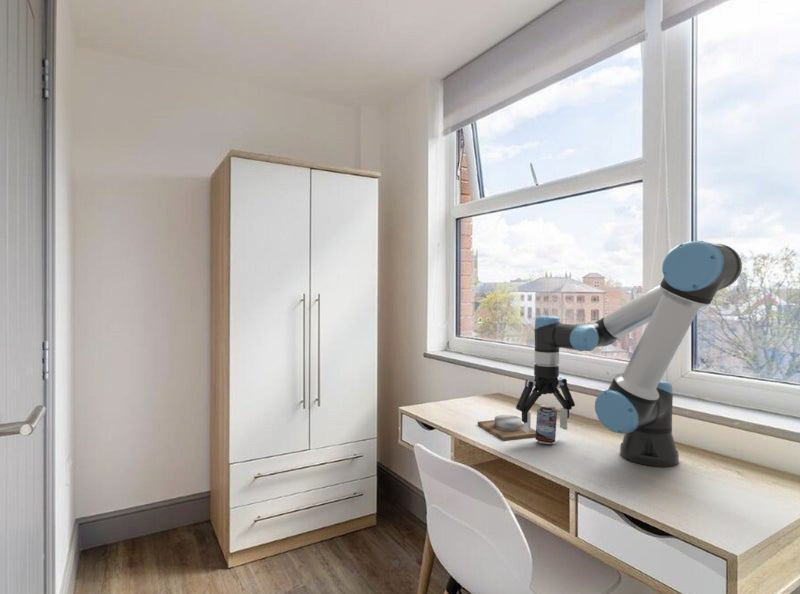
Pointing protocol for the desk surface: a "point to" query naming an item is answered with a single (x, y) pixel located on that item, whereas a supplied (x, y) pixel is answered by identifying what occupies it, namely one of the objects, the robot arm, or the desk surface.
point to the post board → (505, 433)
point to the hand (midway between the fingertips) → (545, 430)
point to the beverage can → (546, 424)
